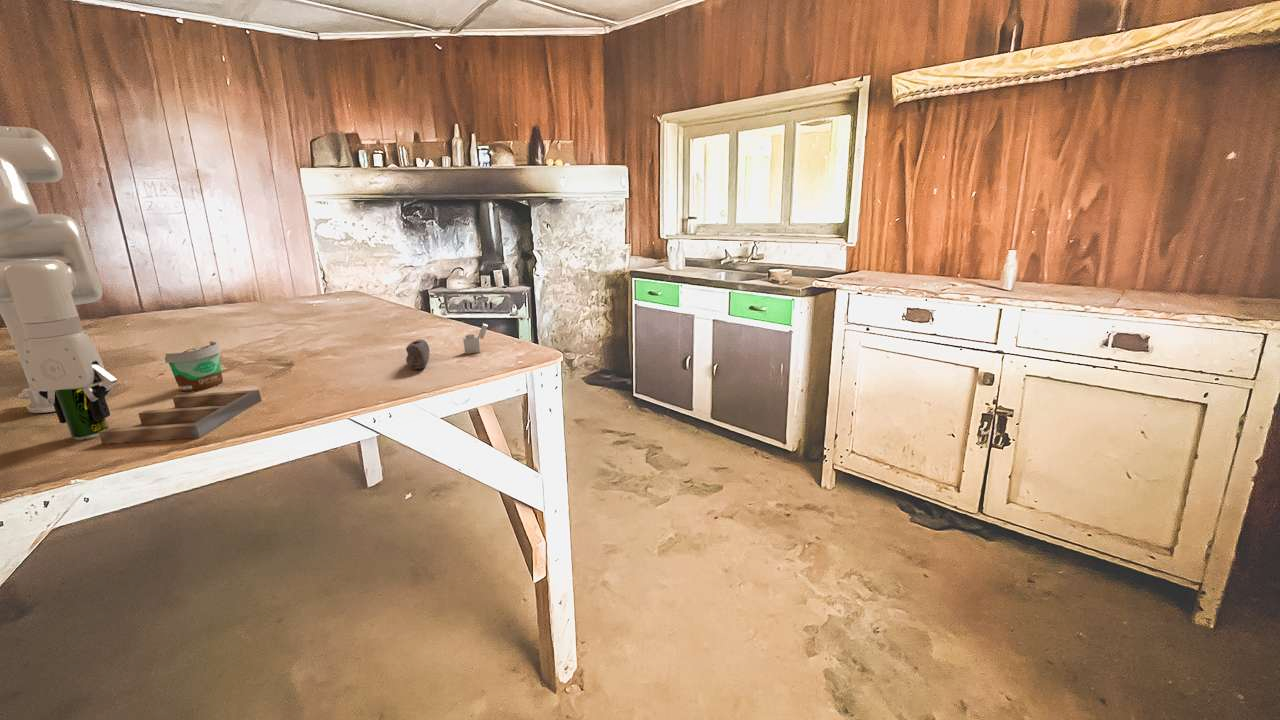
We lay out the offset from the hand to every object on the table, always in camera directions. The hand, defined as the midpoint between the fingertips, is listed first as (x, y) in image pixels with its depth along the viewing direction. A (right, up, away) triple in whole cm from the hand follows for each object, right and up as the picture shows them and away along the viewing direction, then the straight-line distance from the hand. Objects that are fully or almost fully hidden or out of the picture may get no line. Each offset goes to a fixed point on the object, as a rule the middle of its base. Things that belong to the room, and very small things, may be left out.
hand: (85, 418), depth 108 cm
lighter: (+62, +14, +50) cm, 81 cm away
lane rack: (+14, -1, +6) cm, 16 cm away
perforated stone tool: (+50, +10, +40) cm, 65 cm away
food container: (+2, +5, +29) cm, 29 cm away
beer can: (0, -4, +1) cm, 4 cm away
